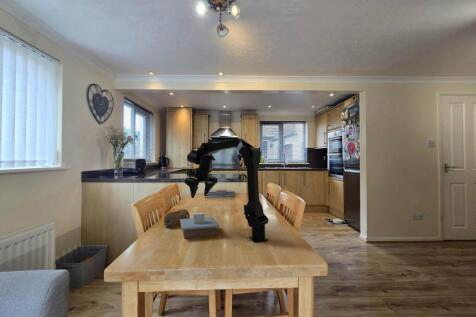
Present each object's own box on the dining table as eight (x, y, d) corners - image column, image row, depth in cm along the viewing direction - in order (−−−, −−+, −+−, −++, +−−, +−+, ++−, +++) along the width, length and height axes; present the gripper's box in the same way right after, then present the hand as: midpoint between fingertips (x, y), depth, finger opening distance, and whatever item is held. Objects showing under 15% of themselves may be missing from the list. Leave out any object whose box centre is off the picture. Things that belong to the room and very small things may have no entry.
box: (216, 238, 111) (216, 226, 111) (184, 241, 107) (184, 229, 107) (211, 229, 124) (211, 219, 124) (182, 231, 121) (182, 221, 121)
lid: (219, 227, 110) (219, 216, 110) (181, 230, 106) (181, 218, 106) (212, 218, 126) (212, 208, 126) (179, 220, 121) (179, 210, 121)
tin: (166, 230, 123) (166, 213, 123) (162, 229, 125) (162, 212, 125) (190, 224, 135) (190, 208, 135) (186, 223, 137) (186, 207, 137)
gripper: (205, 162, 138) (199, 189, 140) (179, 163, 122) (174, 194, 125) (220, 168, 132) (215, 196, 134) (195, 169, 116) (189, 201, 119)
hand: (198, 196), depth 128 cm, fingers open, 9 cm apart
